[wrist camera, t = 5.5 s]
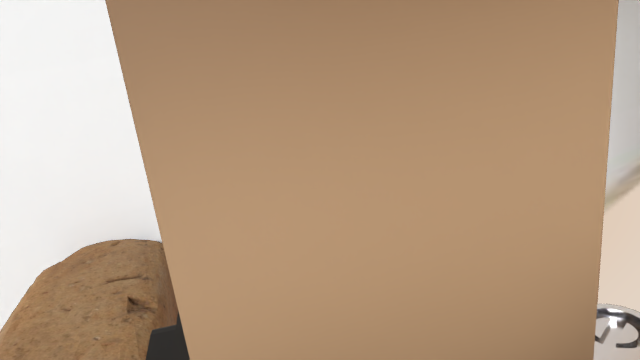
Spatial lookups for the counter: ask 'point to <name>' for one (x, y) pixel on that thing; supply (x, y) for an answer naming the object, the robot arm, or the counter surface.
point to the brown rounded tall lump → (94, 305)
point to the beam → (376, 172)
